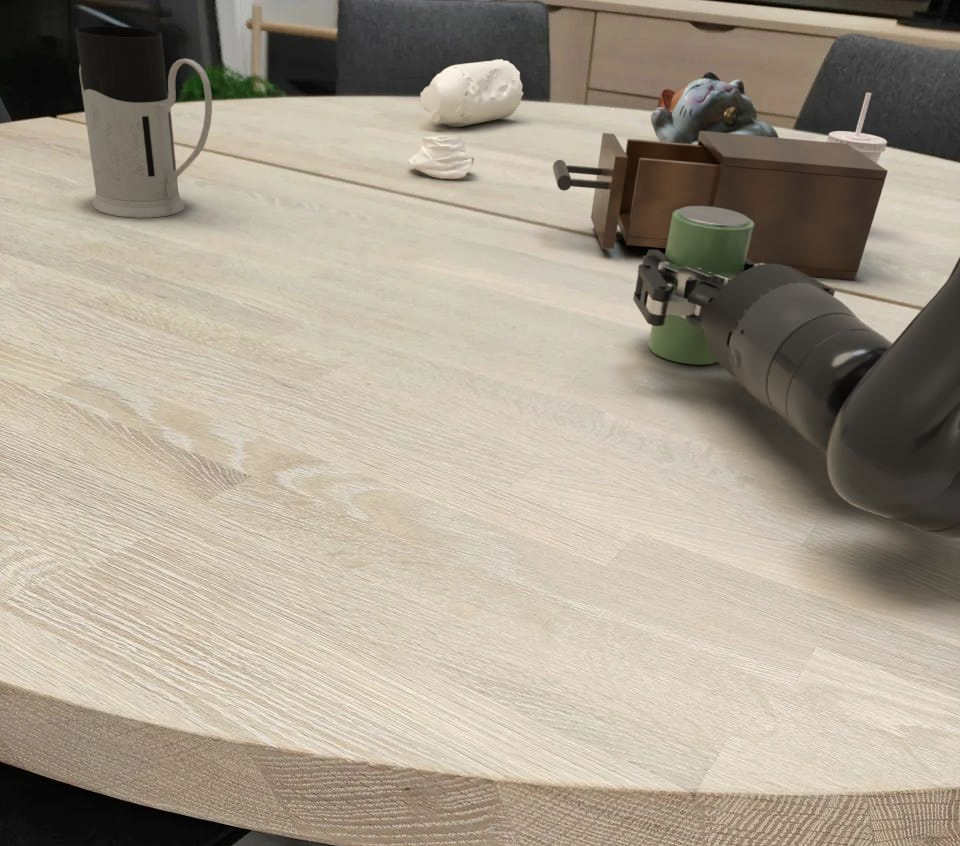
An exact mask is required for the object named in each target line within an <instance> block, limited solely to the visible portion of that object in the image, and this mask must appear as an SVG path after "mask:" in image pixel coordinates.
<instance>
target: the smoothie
mask: <svg viewBox="0 0 960 846" xmlns="http://www.w3.org/2000/svg"><path fill="white" fill-rule="evenodd" d="M871 97H872V93H871V92H865V96H864V100H863V103H862V107H861V111H860V114H859V118H858V121H857V125H856V129H855V131H845V130H844V131H843V130H836V131H831V132H829V133H828V136H827V139H826V141H825V142H831V143H843V144H848V145H850V146H851V147H853V148H854V149H856V150H857V151H859V152H860V153H862V154H863V155H865V156H866V157H868V158H869V159H871V160H872V161H874V162H875V163H877V164H878V162H879V159H880V158H881V155H882V153H884V152H885V151H886V147H887V144H888V141H887V140H886V139H885V138H883V137H881V136H877V135H873V134H868V133H863V132H862V129H863V126H864V123H865V119H866V115H867V111H868V107H869V104H870V102H871V101H870V100H871Z"/></svg>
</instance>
